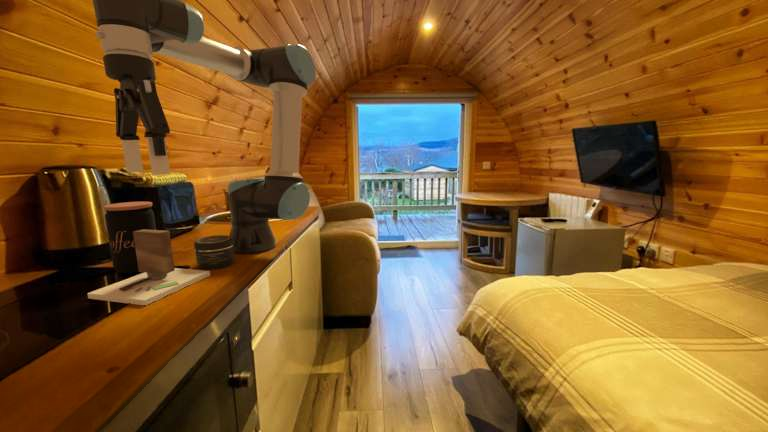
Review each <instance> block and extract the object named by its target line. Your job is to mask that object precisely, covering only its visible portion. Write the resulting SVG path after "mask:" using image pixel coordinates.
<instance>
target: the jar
mask: <svg viewBox="0 0 768 432" xmlns="http://www.w3.org/2000/svg"><path fill="white" fill-rule="evenodd" d="M193 246H194V247H193V249H194V252H195V253H194V254H195V261H196V262H195V263H196V264H197V266H198V267H199V268H200V270H201V269H202V270H205V271H210V270H217V269H222V268H226V267H229V266H231V265H233V263H234V260H235V253H234V243H233V238H232V237H231V236H229V235H228V234H227V235H226V234H217V235H209V236H204V237H200V238H197V239H195V240H194V242H193Z"/></svg>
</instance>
